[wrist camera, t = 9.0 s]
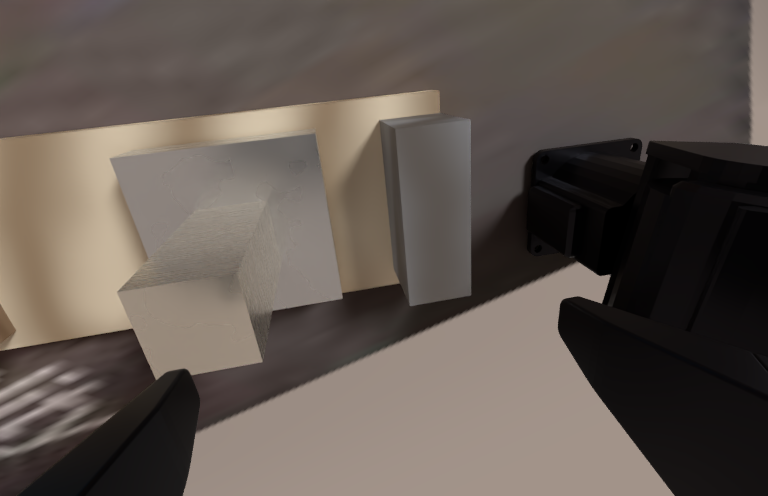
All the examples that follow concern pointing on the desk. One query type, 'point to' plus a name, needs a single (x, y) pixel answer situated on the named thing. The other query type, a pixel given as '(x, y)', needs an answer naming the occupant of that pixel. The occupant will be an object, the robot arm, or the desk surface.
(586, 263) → the robot arm
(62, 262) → the base
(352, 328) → the desk surface
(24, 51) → the desk surface
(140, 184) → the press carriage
